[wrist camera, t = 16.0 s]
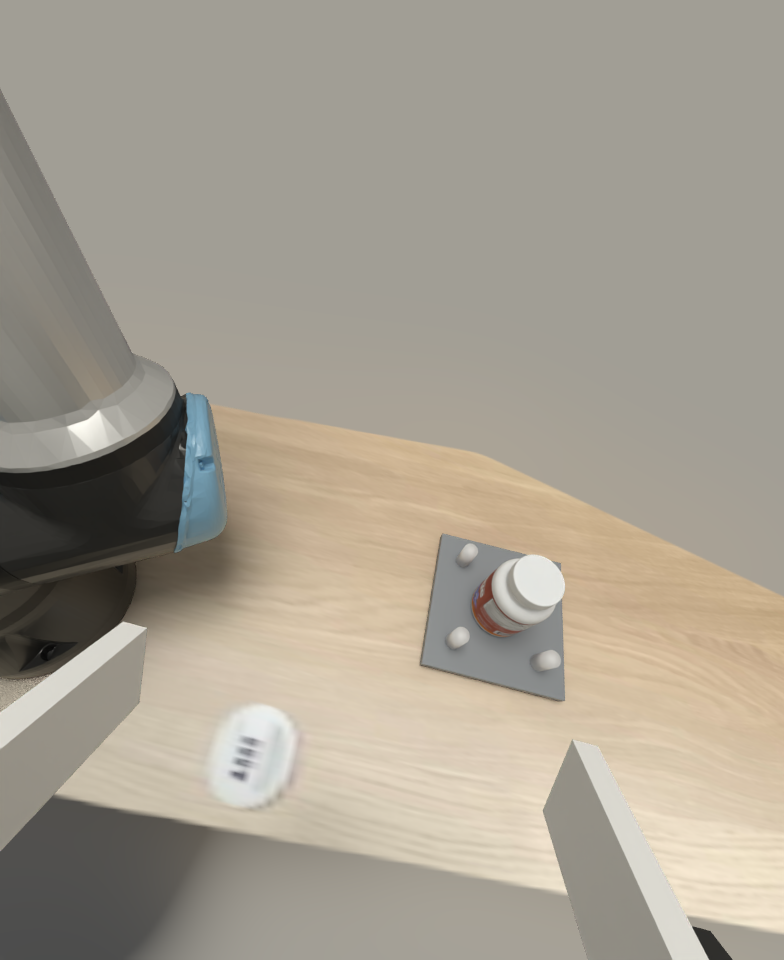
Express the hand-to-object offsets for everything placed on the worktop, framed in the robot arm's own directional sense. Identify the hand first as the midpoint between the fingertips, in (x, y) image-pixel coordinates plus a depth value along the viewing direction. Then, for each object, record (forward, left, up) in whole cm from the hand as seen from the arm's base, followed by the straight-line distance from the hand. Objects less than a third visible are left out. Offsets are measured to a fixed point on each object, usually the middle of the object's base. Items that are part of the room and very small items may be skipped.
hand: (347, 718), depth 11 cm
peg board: (+14, +14, -30) cm, 35 cm away
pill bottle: (+14, +14, -29) cm, 35 cm away
